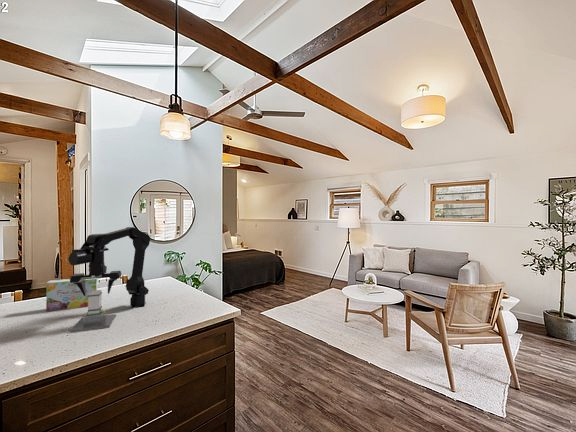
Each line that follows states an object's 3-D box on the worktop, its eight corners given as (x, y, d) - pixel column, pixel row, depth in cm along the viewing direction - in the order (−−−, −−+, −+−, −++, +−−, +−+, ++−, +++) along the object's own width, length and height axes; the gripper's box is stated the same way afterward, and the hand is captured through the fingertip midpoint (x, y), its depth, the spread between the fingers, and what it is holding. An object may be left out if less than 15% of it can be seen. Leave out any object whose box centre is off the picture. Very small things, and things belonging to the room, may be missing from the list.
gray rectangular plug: (102, 311, 123) (102, 289, 123) (99, 314, 119) (99, 292, 119) (90, 312, 121) (90, 290, 121) (87, 315, 117) (87, 293, 117)
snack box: (45, 312, 134) (45, 282, 134) (49, 308, 139) (49, 280, 139) (96, 305, 144) (96, 278, 143) (98, 302, 149) (98, 276, 148)
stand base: (116, 316, 129) (116, 304, 129) (109, 327, 116) (109, 314, 116) (81, 320, 124) (81, 307, 124) (70, 332, 111) (70, 319, 111)
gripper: (123, 257, 133) (123, 287, 133) (77, 259, 126) (78, 292, 126) (118, 261, 123) (119, 294, 123) (69, 264, 115) (69, 299, 116)
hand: (96, 294), depth 122 cm, fingers open, 9 cm apart
